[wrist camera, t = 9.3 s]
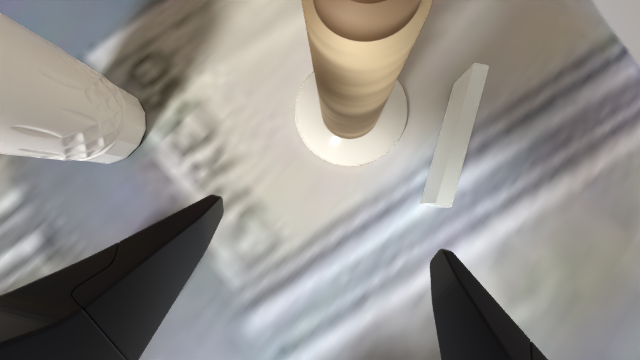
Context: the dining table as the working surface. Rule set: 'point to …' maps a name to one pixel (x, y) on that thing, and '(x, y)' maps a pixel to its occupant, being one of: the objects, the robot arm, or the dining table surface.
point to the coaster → (349, 149)
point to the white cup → (61, 104)
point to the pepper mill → (359, 56)
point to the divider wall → (454, 137)
